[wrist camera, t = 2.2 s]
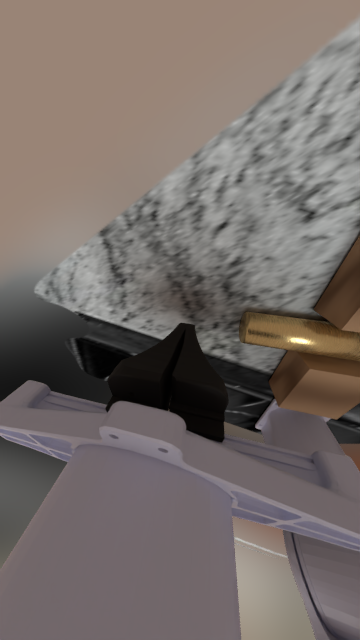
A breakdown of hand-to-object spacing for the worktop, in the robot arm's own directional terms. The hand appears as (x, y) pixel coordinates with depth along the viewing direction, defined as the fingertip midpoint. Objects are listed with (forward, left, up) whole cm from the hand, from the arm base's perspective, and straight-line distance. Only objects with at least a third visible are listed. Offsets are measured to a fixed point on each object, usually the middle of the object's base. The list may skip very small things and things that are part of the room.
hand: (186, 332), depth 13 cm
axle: (0, -12, -4) cm, 12 cm away
